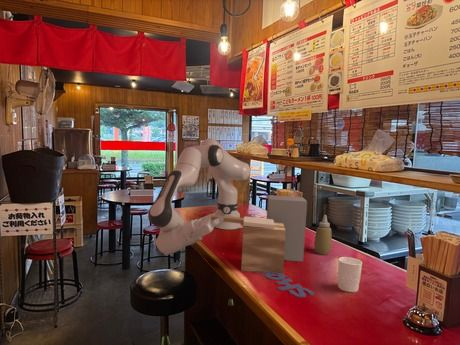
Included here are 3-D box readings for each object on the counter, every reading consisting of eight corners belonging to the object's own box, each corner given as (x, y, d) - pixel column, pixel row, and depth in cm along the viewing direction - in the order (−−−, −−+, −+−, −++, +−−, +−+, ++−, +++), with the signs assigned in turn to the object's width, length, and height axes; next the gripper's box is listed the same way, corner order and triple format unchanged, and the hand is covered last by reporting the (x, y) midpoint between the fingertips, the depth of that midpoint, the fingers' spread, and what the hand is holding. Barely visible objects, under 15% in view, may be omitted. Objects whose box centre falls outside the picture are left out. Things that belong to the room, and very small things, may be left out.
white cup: (347, 294, 114) (349, 265, 113) (331, 285, 121) (333, 258, 120) (364, 291, 117) (367, 263, 116) (348, 282, 124) (350, 256, 123)
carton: (264, 250, 157) (267, 195, 155) (299, 252, 156) (303, 197, 154) (265, 258, 145) (269, 199, 143) (303, 261, 144) (307, 201, 142)
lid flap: (212, 216, 140) (213, 213, 140) (272, 223, 139) (273, 219, 139) (209, 222, 130) (210, 218, 130) (274, 228, 129) (274, 225, 129)
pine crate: (242, 260, 142) (244, 220, 141) (280, 263, 141) (282, 223, 140) (241, 270, 130) (243, 227, 129) (282, 273, 129) (285, 230, 128)
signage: (316, 293, 112) (293, 298, 108) (316, 295, 112) (293, 300, 108) (268, 264, 137) (247, 268, 133) (268, 266, 137) (247, 269, 133)
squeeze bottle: (319, 249, 163) (321, 212, 162) (334, 253, 158) (337, 215, 156) (310, 252, 158) (312, 214, 156) (325, 257, 152) (328, 217, 151)
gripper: (184, 230, 126) (217, 214, 125) (194, 219, 146) (222, 205, 145) (192, 245, 126) (225, 229, 125) (200, 231, 146) (229, 218, 145)
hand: (223, 216), depth 135 cm, fingers closed on lid flap, 4 cm apart
